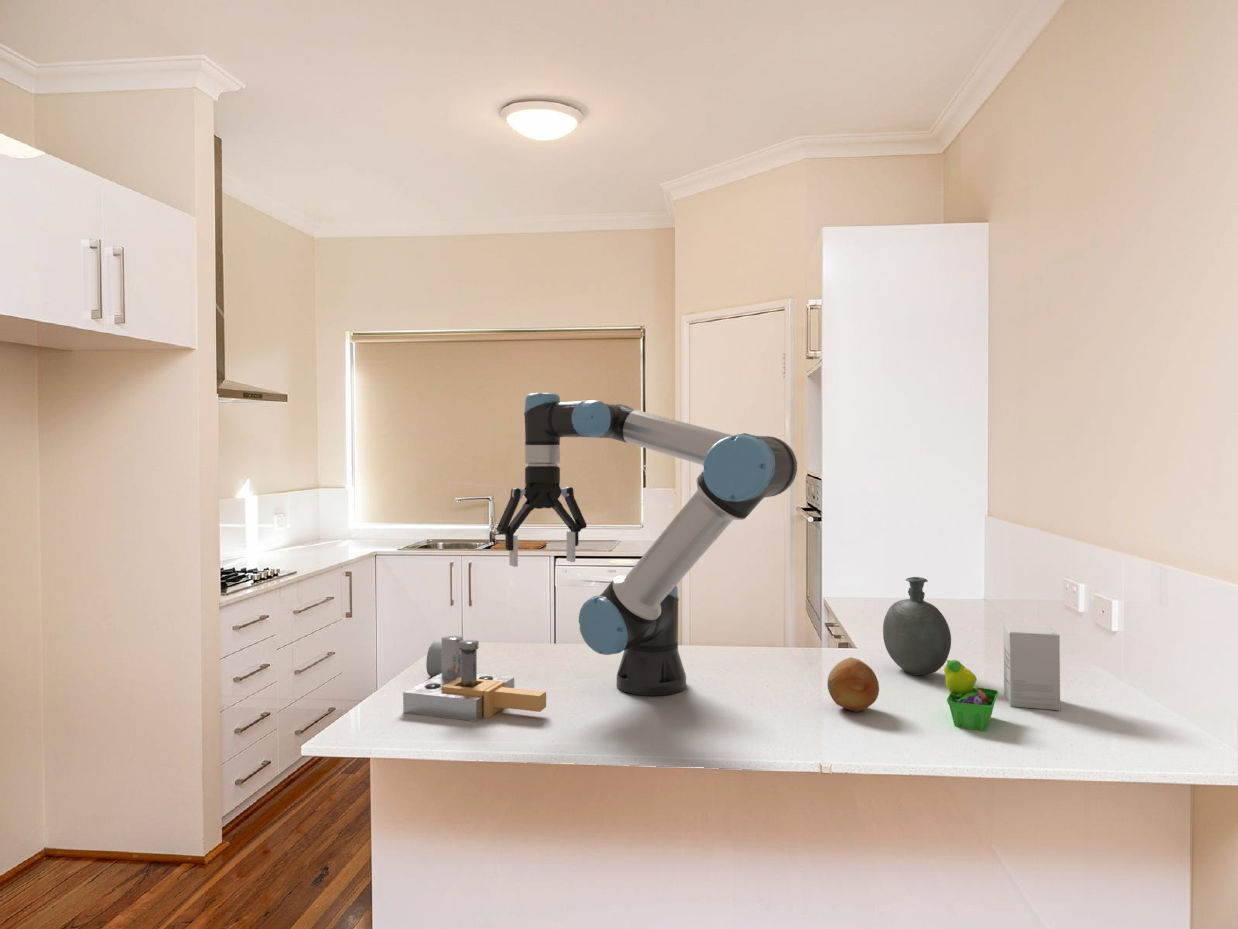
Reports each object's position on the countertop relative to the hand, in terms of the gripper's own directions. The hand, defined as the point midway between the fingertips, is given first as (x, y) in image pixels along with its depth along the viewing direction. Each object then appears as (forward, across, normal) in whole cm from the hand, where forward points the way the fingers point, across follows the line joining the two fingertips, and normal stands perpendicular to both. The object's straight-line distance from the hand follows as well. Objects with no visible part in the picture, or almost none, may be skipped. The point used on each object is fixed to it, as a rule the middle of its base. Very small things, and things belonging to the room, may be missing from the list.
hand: (542, 563), depth 167 cm
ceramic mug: (+27, +14, -20) cm, 37 cm away
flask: (+27, -78, +34) cm, 89 cm away
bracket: (+27, +15, +10) cm, 32 cm away
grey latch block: (+27, +19, +2) cm, 33 cm away
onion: (+27, -46, +45) cm, 70 cm away
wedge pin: (+27, +19, +6) cm, 33 cm away
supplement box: (+27, -80, +60) cm, 104 cm away
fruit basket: (+27, -60, +61) cm, 89 cm away
